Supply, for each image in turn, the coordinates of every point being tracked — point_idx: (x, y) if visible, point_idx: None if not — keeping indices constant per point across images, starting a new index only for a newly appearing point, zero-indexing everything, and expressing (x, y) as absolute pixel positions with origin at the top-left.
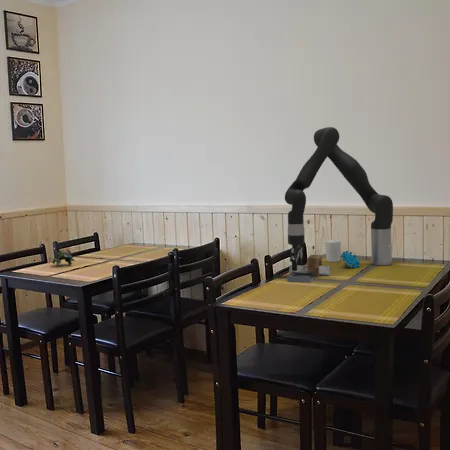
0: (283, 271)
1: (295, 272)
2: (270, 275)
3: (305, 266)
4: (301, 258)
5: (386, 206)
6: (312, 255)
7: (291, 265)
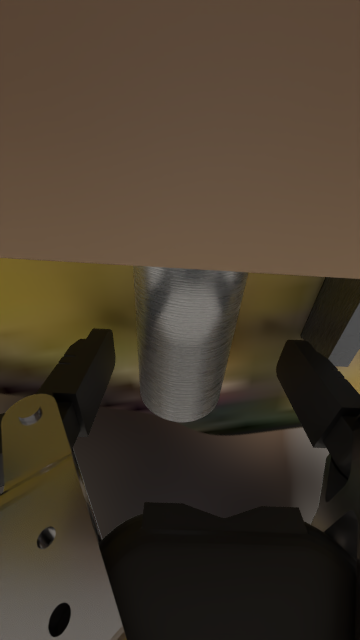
0: (110, 404)
1: (358, 335)
2: (223, 435)
3: (230, 275)
4: (55, 401)
5: None
6: (2, 93)
7: (194, 411)
